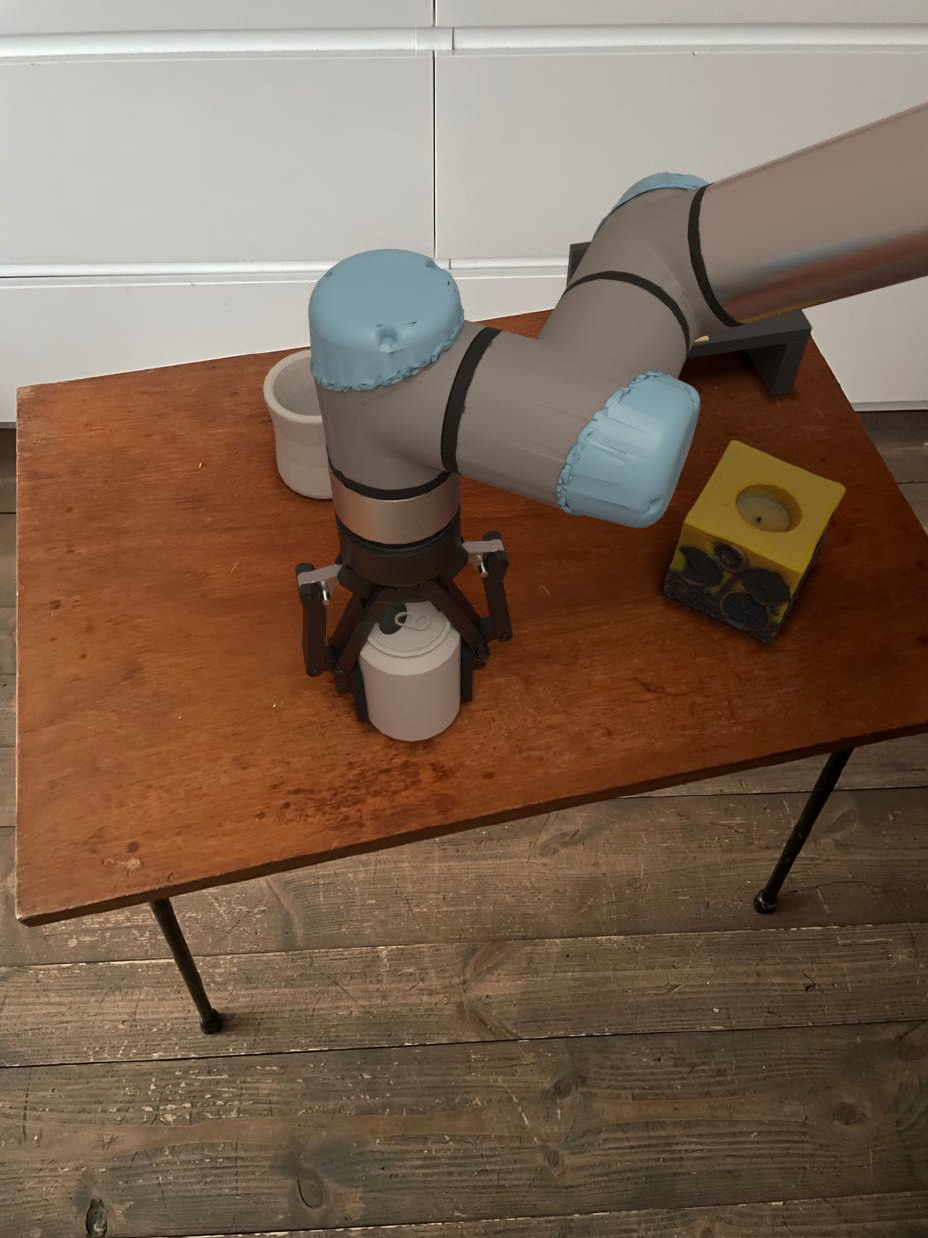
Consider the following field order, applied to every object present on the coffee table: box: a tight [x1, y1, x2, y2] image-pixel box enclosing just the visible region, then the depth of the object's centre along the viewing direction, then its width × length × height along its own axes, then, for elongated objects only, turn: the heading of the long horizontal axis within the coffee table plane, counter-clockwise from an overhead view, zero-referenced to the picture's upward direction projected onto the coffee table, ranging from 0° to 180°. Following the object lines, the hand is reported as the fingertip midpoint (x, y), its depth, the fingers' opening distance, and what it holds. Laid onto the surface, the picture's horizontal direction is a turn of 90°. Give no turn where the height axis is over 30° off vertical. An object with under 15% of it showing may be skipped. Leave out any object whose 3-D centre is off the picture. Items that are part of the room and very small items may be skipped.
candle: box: [662, 439, 847, 644], centre depth 85 cm, size 10×10×10 cm
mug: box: [262, 349, 333, 500], centre depth 93 cm, size 12×9×10 cm
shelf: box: [565, 241, 813, 397], centre depth 99 cm, size 20×11×12 cm, turn 102°
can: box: [357, 601, 462, 742], centre depth 77 cm, size 8×8×12 cm
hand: (412, 696), depth 81 cm, fingers closed on can, 7 cm apart
